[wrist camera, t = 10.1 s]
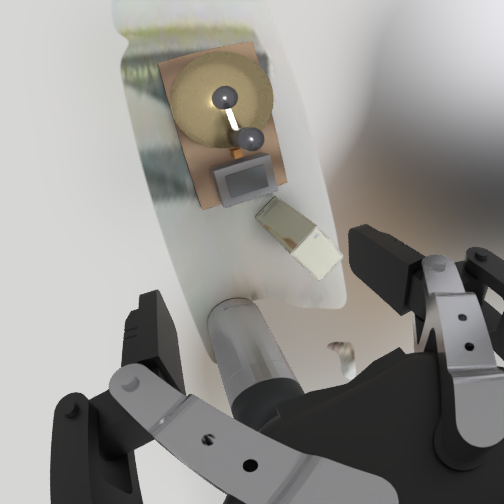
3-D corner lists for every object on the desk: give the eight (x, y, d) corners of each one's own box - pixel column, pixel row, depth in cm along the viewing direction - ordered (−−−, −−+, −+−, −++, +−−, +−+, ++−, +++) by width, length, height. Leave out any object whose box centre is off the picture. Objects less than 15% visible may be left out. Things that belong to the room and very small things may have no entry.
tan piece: (283, 180, 40) (297, 187, 36) (201, 207, 38) (205, 217, 34) (249, 44, 30) (260, 34, 26) (158, 65, 28) (157, 57, 24)
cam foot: (280, 129, 35) (308, 132, 28) (192, 163, 34) (199, 173, 27) (249, 44, 29) (272, 26, 22) (156, 75, 28) (154, 60, 21)
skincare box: (253, 216, 41) (287, 252, 30) (275, 194, 40) (315, 223, 30) (282, 243, 44) (320, 283, 33) (301, 222, 43) (345, 257, 33)
